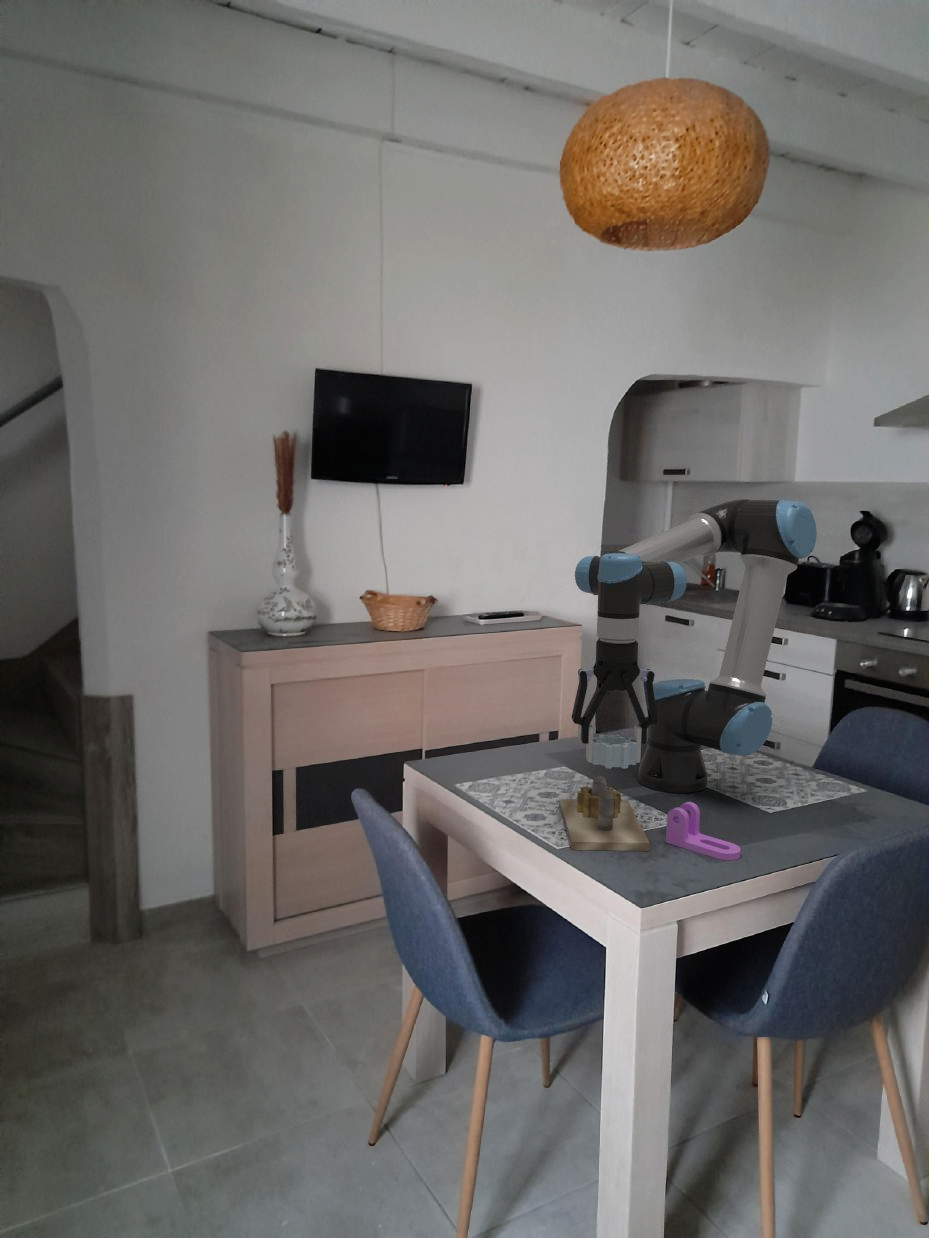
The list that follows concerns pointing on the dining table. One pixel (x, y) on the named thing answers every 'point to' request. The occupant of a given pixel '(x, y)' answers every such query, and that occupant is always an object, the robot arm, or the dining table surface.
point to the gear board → (603, 838)
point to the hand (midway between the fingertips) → (612, 760)
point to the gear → (614, 751)
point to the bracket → (696, 834)
